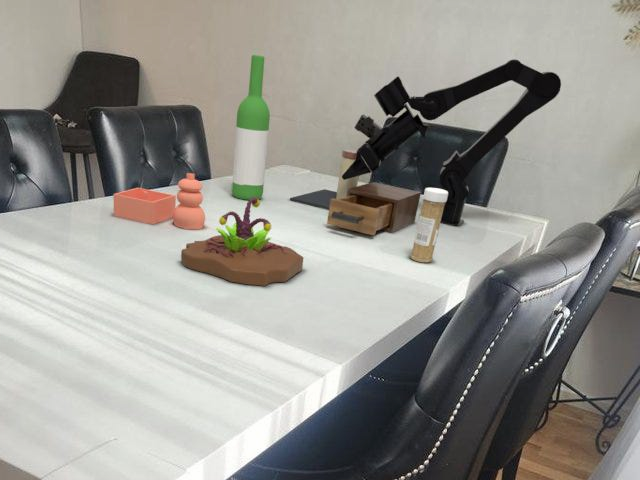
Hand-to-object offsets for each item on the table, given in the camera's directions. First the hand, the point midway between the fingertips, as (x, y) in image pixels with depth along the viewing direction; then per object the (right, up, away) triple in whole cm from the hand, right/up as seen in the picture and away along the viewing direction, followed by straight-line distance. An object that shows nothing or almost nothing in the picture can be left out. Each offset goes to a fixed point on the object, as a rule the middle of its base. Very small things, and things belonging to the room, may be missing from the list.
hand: (345, 175), depth 166 cm
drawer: (+1, -20, -19) cm, 28 cm away
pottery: (-41, -24, -31) cm, 57 cm away
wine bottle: (-25, -7, -3) cm, 26 cm away
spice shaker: (0, -5, +3) cm, 6 cm away
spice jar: (+12, -33, -33) cm, 48 cm away
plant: (-23, -40, -50) cm, 68 cm away
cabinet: (+7, -15, -9) cm, 19 cm away
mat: (-1, -5, +4) cm, 7 cm away
